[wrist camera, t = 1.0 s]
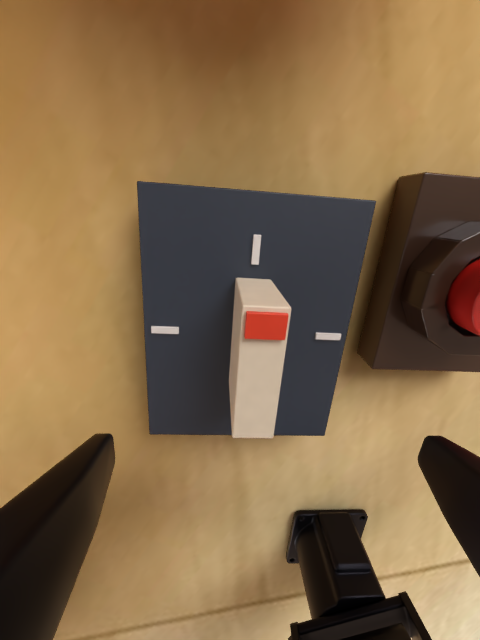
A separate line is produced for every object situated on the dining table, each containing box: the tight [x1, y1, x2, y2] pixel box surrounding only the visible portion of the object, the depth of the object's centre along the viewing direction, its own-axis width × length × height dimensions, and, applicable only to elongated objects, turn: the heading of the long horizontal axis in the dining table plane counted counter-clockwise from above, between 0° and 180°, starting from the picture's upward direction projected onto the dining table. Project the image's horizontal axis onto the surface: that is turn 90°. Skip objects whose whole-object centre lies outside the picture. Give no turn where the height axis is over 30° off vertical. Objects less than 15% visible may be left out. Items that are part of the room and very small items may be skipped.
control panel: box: [137, 181, 376, 436], centre depth 17 cm, size 14×11×3 cm
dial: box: [229, 278, 291, 438], centre depth 13 cm, size 6×2×5 cm, turn 176°
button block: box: [357, 172, 480, 372], centre depth 16 cm, size 11×8×4 cm
